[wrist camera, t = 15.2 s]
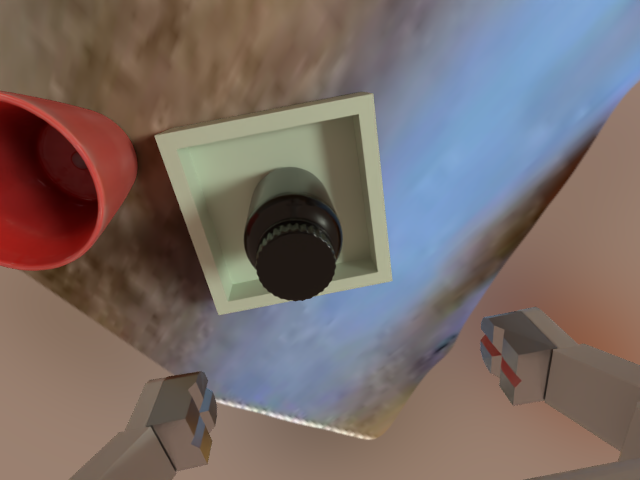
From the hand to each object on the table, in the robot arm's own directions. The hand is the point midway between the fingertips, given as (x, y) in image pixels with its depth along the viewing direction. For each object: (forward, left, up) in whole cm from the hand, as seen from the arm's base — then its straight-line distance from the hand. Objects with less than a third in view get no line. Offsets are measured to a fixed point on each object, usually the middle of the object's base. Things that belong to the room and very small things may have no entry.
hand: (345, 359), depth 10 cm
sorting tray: (+3, -2, -24) cm, 24 cm away
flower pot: (-4, -17, -24) cm, 30 cm away
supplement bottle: (+2, -2, -23) cm, 23 cm away
